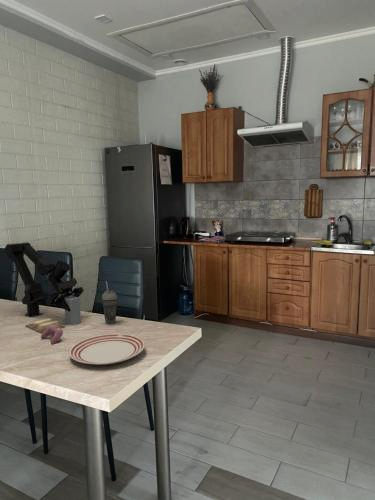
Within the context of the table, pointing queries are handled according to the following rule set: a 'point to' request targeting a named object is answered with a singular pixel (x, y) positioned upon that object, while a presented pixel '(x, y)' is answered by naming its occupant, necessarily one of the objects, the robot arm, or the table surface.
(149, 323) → the table surface
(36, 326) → the build board
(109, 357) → the dinner plate
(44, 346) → the table surface
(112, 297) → the beverage cup
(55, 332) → the video game controller
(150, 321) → the table surface
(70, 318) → the slate pillar block
